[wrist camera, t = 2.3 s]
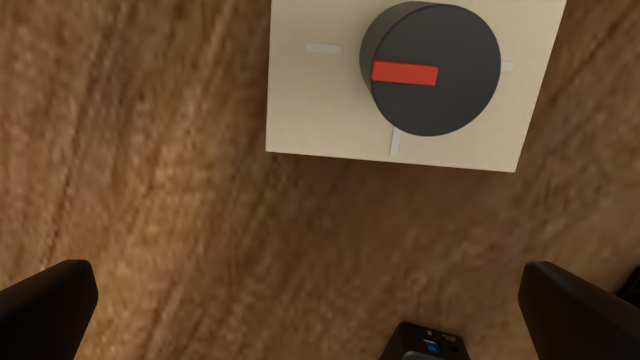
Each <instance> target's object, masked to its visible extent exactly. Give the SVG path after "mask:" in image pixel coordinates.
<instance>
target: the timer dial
mask: <svg viewBox="0 0 640 360" xmlns="http://www.w3.org/2000/svg"><path fill="white" fill-rule="evenodd" d="M359 64H360V70H361V74H362V77H363V80H364V82H365V84H366V86H367V88H368V90H369V92H370V94H371V96H372V98H373V100H374V102H375V104H376V106H377V108H378V109H379V111H380V112H381V114H382V115H383V116H384V117H385V119H386V120H387V121H388V122H390V123H391V124H392V125H393V126H395V127H396V128H398V129H399V130H401V131H404V132H406V133H409V134H412V135H416V136H423V137H433V136H440V135H445V134H448V133H451V132H454V131H456V130H458V129H461V128H463V127H464V126H466V125H467V124H469V123H470V122H472V121H473V120H474V119H475V118H476V117H477V116H478V115H479V114H480V113H481V112H482V111H483V110H484V109H485V108H486V106H487V105H488V103H489V102H490V100H491V99H492V97H493V95H494V93H495V91H496V88H497V85H498V82H499V78H500V73H501V54H500V49H499V45H498V42H497V39H496V37H495V35H494V33H493V31H492V30H491V28H490V27H489V26H488V24H487V23H486V22H485V21H484V20H483V19H482V18H481V17H480V16H478V15H477V14H475V13H474V12H472V11H470V10H468V9H466V8H463V7H460V6H456V5H451V4H442V3H432V2H423V1H409V2H404V3H400V4H397V5H395V6H392V7H390V8H389V9H387V10H385V11H384V12H383V13H381V14H380V15H379V16H378V17H377V18H376V19H375V20H374V21H373V22H372V24H371V25H370V26H369V28H368V29H367V31H366V33H365V35H364V37H363V40H362V43H361V47H360V53H359Z"/></svg>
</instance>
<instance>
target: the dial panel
mask: <svg viewBox="0 0 640 360" xmlns="http://www.w3.org/2000/svg"><path fill="white" fill-rule="evenodd" d="M409 1H423V2H432V3H442V4H451V5H456V6H460V7H463V8H466V9H468V10H470V11H472V12H474V13H475V14H477V15H478V16H480V17H481V18H482V19H483V20H484V21H485V22H486V23H487V24H488V26H489V27H490V28H491V30H492V31H493V33H494V35H495V37H496V39H497V42H498V45H499V49H500V54H501V73H500V78H499V82H498V85H497V88H496V91H495V93H494V95H493V97H492V99H491V100H490V102H489V103H488V105H487V106H486V108H485V109H484V110H483V111H482V112H481V113H480V114H479V115H478V116H477V117H476V118H475V119H474V120H473V121H472V122H470V123H469V124H467V125H466V126H464V127H463V128H461V129H458V130H456V131H454V132H451V133H448V134H445V135H440V136H433V137H423V136H416V135H412V134H409V133H406V132H404V131H401V130H399V129H398V128H396V127H395V126H393V125H392V124H391V123H390V122H388V121H387V120H386V119H385V117H384V116H383V115H382V114H381V112H380V111H379V109H378V108H377V106H376V104H375V102H374V100H373V98H372V96H371V94H370V92H369V90H368V88H367V86H366V84H365V82H364V80H363V77H362V74H361V70H360V64H359V53H360V47H361V43H362V40H363V37H364V35H365V33H366V31H367V29H368V28H369V26H370V25H371V24H372V22H373V21H374V20H375V19H376V18H377V17H378V16H379V15H380V14H381V13H383V12H384V11H385V10H387V9H389V8H390V7H392V6H395V5H397V4H400V3H404V2H409ZM566 1H567V0H271V24H270V48H269V73H268V97H267V121H266V145H265V150H266V151H268V152H280V153H292V154H304V155H315V156H327V157H339V158H351V159H362V160H374V161H386V162H397V163H409V164H421V165H433V166H444V167H456V168H468V169H480V170H491V171H503V172H515V169H516V166H517V163H518V159H519V156H520V153H521V150H522V146H523V143H524V140H525V136H526V133H527V130H528V127H529V123H530V120H531V117H532V113H533V110H534V107H535V104H536V100H537V97H538V94H539V90H540V87H541V84H542V80H543V77H544V74H545V71H546V67H547V64H548V61H549V57H550V54H551V51H552V48H553V44H554V41H555V38H556V34H557V31H558V28H559V25H560V21H561V18H562V15H563V11H564V8H565V5H566Z"/></svg>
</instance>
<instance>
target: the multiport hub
mask: <svg viewBox="0 0 640 360" xmlns="http://www.w3.org/2000/svg"><path fill="white" fill-rule="evenodd" d="M380 360H470V357H469V355H468V353H467V350H466V348H465V345H464V343H463V340H462V339H461V338H460V337H456V336H453V335H449V334H445V333H442V332H438V331H434V330H431V329H427V328H423V327H420V326H416V325H412V324H409V323H402V324H400V325H399V326H398V327H397V329H396V331H395V332H394V334H393V336H392V338H391V340H390V342H389V344H388V345H387V347H386V349H385V351H384V353H383V355H382V356H381V358H380Z"/></svg>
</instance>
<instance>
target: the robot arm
mask: <svg viewBox="0 0 640 360" xmlns="http://www.w3.org/2000/svg"><path fill="white" fill-rule="evenodd" d="M97 302H98V289H97V285H96V281H95V277H94V274H93V270H92V266H91V264H90V262H89V261H87V260H65V261H62V262H60V263H58V264H56V265H54V266H52V267H50V268H48V269H46V270H44V271H41V272H39V273H37V274H35V275H33V276H31V277H29V278H27V279H25V280H22V281H20V282H18V283H16V284H14V285H12V286H10V287H8V288H6V289H4V290H1V291H0V360H73V359H74V357H75V355H76V352H77V350H78V348H79V345H80V343H81V340H82V338H83V336H84V333H85V331H86V329H87V326H88V324H89V321H90V319H91V317H92V314H93V312H94V310H95V307H96V305H97ZM518 302H519V306H520V309H521V312H522V314H523V317H524V320H525V322H526V325H527V328H528V330H529V333H530V336H531V338H532V341H533V344H534V347H535V349H536V352H537V355H538V357H539V360H640V268H639V269H637V270H636V272H635V273H634V274H633V276H632V277H631V279H630V280H629V282H628V283H627V284H626V286H625V287H624V289H623V290H622V292H621V293H620V294H619V296H618V297H617V296H615V295H613V294H611V293H609V292H607V291H605V290H603V289H601V288H599V287H597V286H595V285H593V284H592V283H590V282H588V281H586V280H584V279H582V278H580V277H578V276H576V275H574V274H572V273H570V272H568V271H566V270H564V269H562V268H561V267H559V266H557V265H555V264H553V263H551V262H547V261H530V262H528V263H527V264H526V265H525V268H524V271H523V276H522V280H521V284H520V288H519V292H518Z"/></svg>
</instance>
